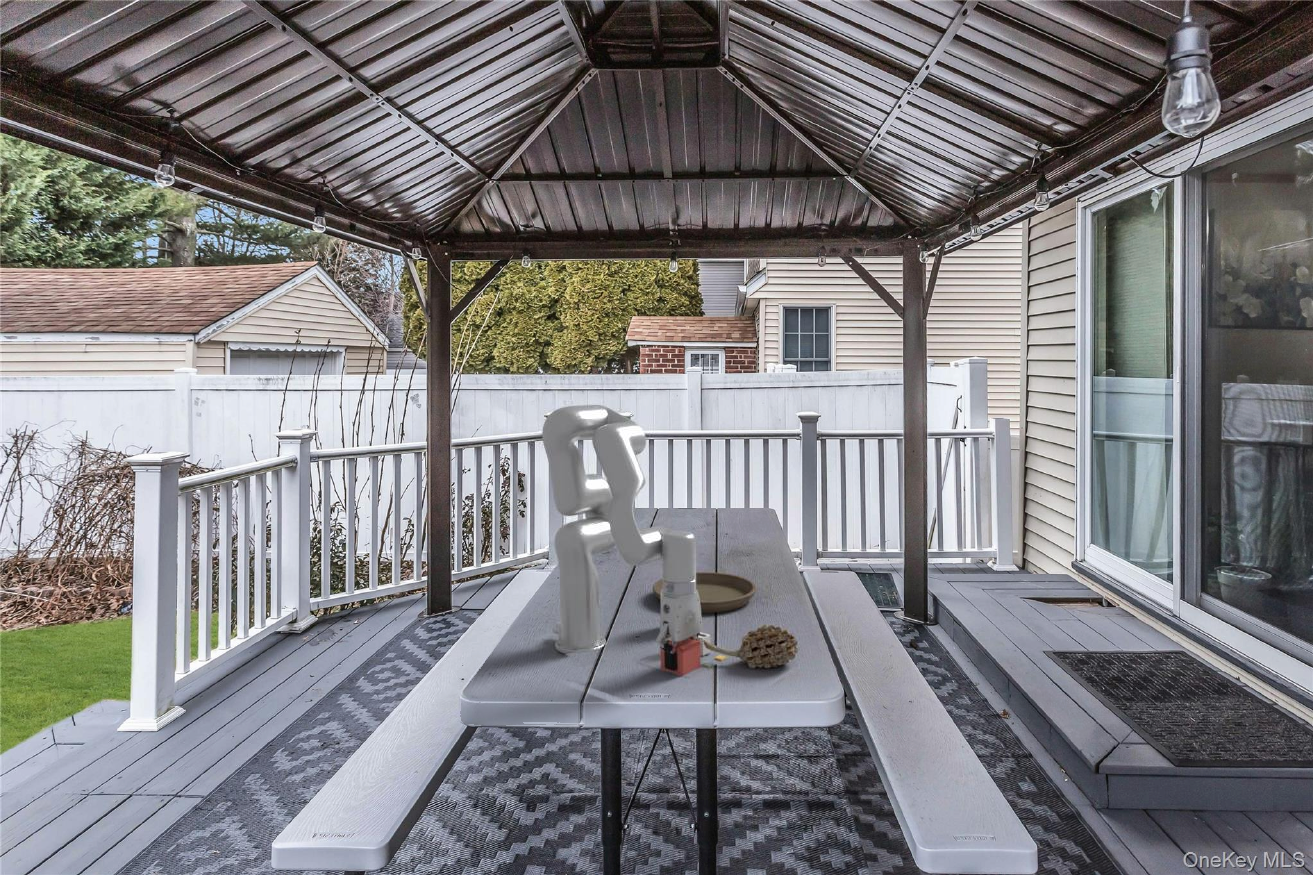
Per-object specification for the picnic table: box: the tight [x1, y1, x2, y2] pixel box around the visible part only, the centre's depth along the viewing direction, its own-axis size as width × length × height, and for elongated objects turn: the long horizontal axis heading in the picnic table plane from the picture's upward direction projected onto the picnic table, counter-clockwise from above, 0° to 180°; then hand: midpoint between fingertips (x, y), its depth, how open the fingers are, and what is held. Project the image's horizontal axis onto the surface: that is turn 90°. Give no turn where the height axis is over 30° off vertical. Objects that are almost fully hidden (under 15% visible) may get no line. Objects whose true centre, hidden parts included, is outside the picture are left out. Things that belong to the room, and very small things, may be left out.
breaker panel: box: [637, 636, 732, 679], centre depth 178 cm, size 15×18×6 cm
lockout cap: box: [661, 638, 701, 677], centre depth 172 cm, size 6×6×6 cm
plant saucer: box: [652, 571, 757, 614], centre depth 228 cm, size 31×31×5 cm
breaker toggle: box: [698, 631, 711, 656], centre depth 181 cm, size 3×3×4 cm
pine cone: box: [702, 624, 799, 669], centre depth 174 cm, size 22×10×10 cm, turn 85°
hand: (680, 663), depth 172 cm, fingers closed on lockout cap, 6 cm apart
